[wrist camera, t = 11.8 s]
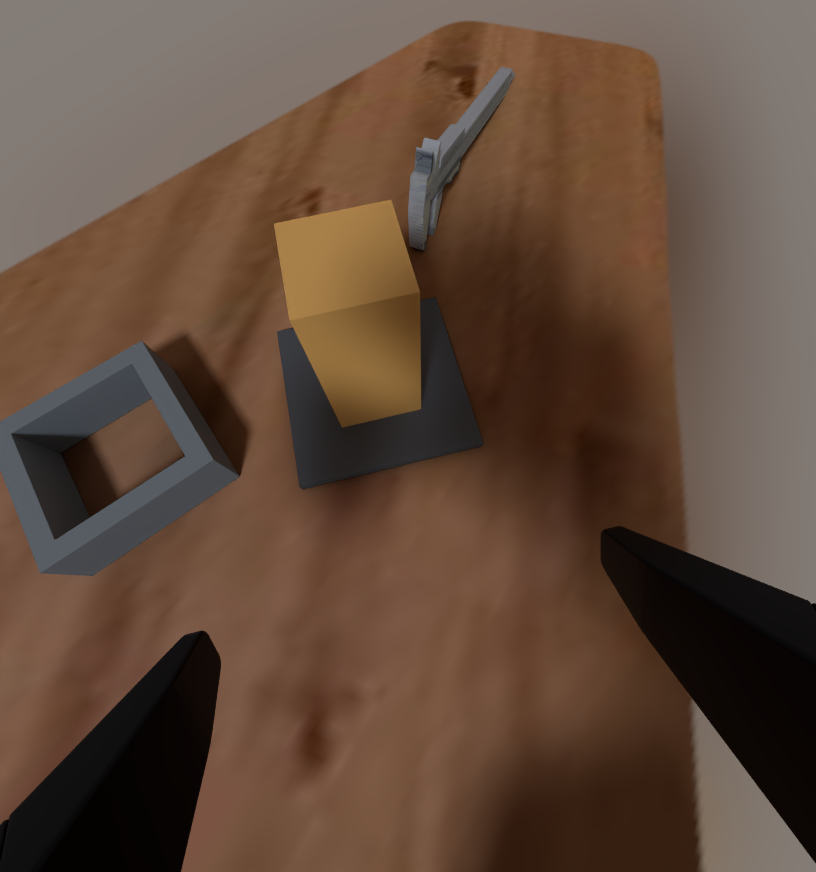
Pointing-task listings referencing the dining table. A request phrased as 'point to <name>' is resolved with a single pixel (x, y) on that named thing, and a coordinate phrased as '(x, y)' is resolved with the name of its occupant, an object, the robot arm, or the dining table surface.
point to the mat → (387, 437)
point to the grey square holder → (79, 418)
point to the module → (355, 309)
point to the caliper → (448, 159)
